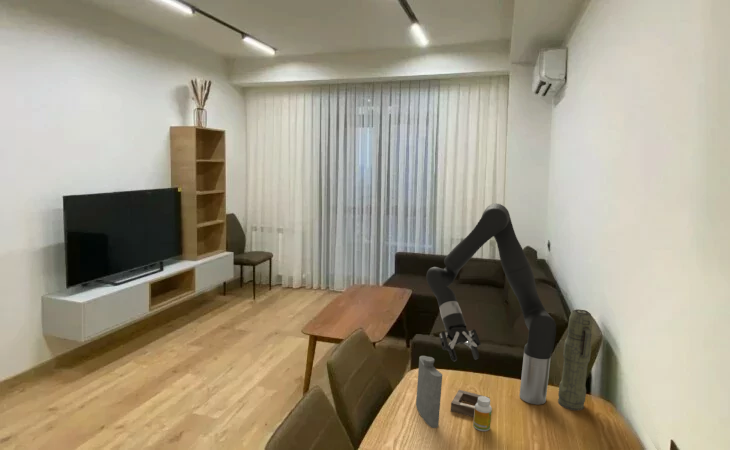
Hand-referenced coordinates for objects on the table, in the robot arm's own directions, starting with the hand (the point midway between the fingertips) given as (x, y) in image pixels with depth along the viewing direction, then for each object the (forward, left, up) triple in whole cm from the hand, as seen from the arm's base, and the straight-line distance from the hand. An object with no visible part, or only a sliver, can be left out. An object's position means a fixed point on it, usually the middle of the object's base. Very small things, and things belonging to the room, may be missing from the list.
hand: (466, 359), depth 159 cm
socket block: (-2, +2, -18) cm, 18 cm away
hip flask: (+10, -10, -18) cm, 23 cm away
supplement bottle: (+8, +8, -18) cm, 22 cm away
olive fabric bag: (-24, +34, -18) cm, 46 cm away
